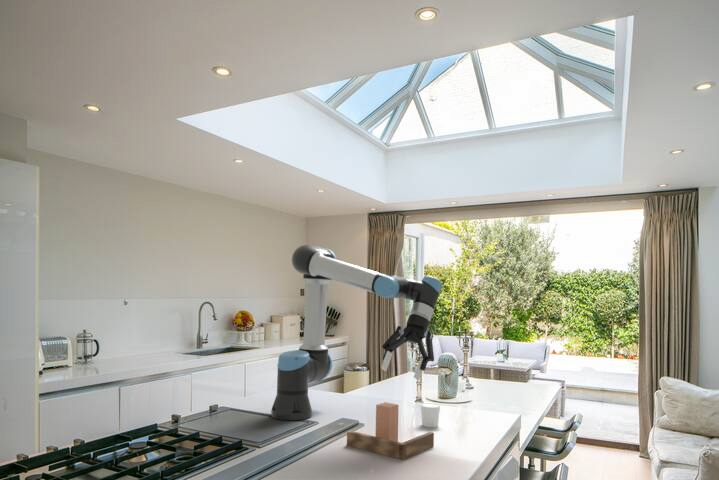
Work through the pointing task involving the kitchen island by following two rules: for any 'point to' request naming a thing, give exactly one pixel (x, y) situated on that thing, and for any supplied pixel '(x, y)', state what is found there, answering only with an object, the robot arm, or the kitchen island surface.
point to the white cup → (430, 415)
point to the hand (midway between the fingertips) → (399, 374)
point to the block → (387, 421)
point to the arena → (391, 444)
